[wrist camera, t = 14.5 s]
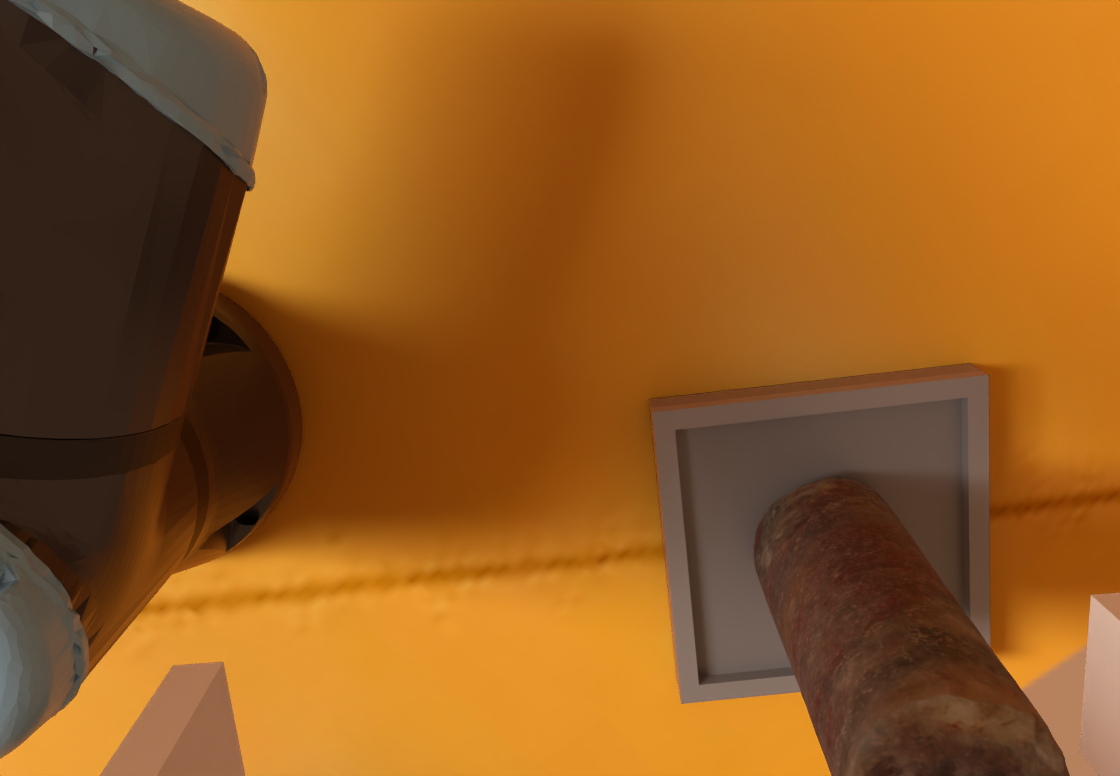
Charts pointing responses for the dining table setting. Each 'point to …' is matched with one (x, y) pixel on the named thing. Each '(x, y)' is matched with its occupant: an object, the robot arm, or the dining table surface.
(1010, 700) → the brown cylinder
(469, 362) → the dining table surface
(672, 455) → the tray
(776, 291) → the dining table surface
